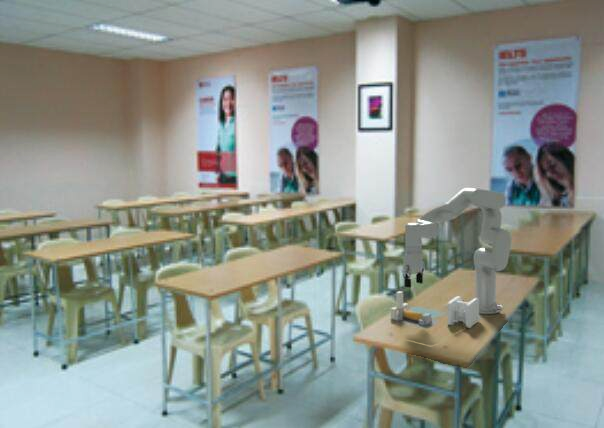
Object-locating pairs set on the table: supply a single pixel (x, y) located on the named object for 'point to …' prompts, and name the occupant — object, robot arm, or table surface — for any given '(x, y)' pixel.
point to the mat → (427, 311)
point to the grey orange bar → (415, 315)
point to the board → (415, 323)
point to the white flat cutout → (398, 304)
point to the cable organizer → (463, 311)
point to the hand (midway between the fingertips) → (413, 285)
